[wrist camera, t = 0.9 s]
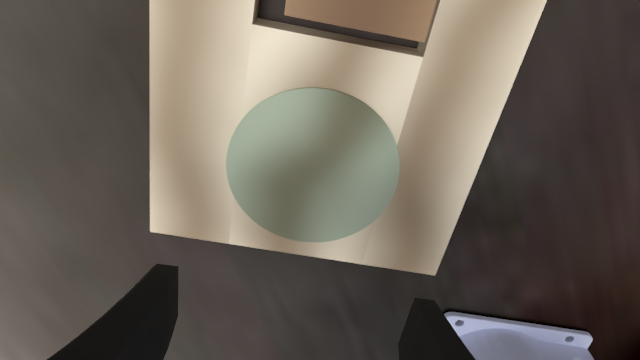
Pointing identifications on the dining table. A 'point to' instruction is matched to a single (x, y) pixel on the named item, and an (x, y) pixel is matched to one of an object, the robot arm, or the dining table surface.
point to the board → (325, 128)
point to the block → (369, 15)
